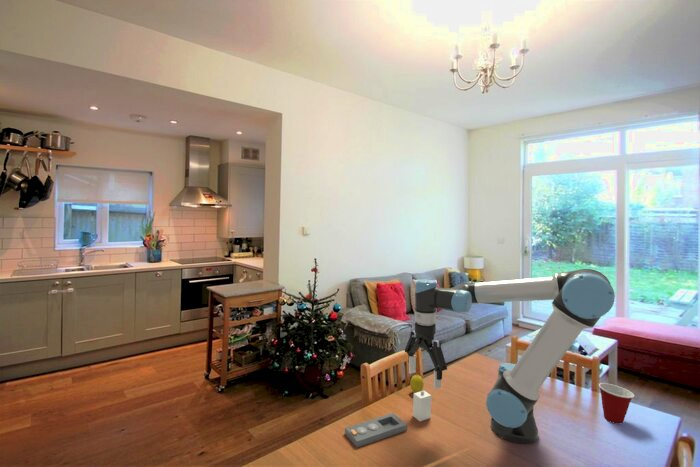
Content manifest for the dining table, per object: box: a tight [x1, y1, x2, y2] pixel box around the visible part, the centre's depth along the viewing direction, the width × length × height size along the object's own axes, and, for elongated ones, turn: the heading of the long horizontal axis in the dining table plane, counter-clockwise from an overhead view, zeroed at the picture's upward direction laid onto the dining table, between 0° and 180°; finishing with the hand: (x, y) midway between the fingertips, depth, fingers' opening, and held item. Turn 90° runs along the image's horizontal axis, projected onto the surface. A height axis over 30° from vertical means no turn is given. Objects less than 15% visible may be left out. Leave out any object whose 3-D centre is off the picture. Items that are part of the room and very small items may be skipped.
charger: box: [412, 390, 432, 422], centre depth 129 cm, size 4×5×10 cm
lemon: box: [409, 374, 424, 393], centre depth 148 cm, size 6×6×8 cm
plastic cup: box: [598, 382, 635, 424], centre depth 132 cm, size 11×11×12 cm
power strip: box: [344, 412, 408, 448], centre depth 119 cm, size 8×20×4 cm, turn 119°
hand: (424, 380), depth 128 cm, fingers open, 13 cm apart
